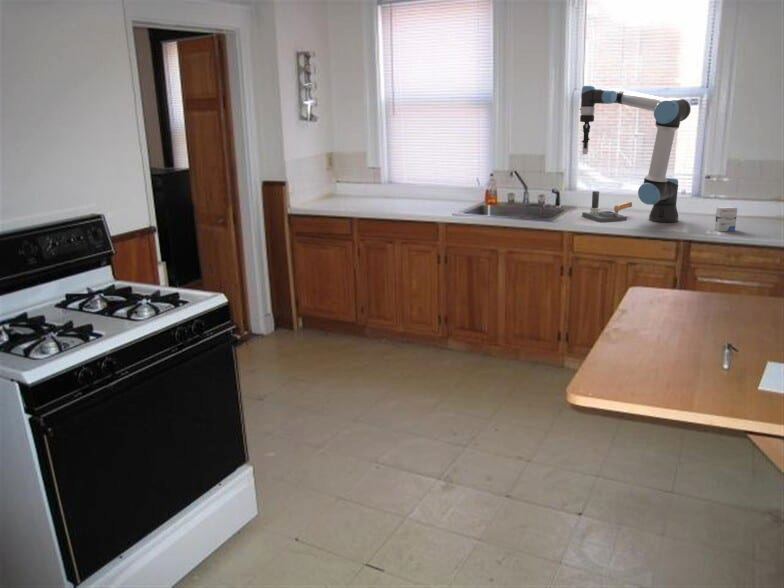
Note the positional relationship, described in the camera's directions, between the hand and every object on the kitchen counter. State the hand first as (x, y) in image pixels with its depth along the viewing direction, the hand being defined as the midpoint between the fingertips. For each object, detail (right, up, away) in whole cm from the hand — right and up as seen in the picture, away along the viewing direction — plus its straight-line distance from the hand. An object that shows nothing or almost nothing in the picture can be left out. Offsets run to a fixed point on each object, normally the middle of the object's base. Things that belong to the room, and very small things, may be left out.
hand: (585, 153), depth 401 cm
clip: (+19, -32, -7) cm, 38 cm away
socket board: (+9, -37, -4) cm, 39 cm away
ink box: (+60, -48, -41) cm, 87 cm away
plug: (+5, -34, -1) cm, 34 cm away
